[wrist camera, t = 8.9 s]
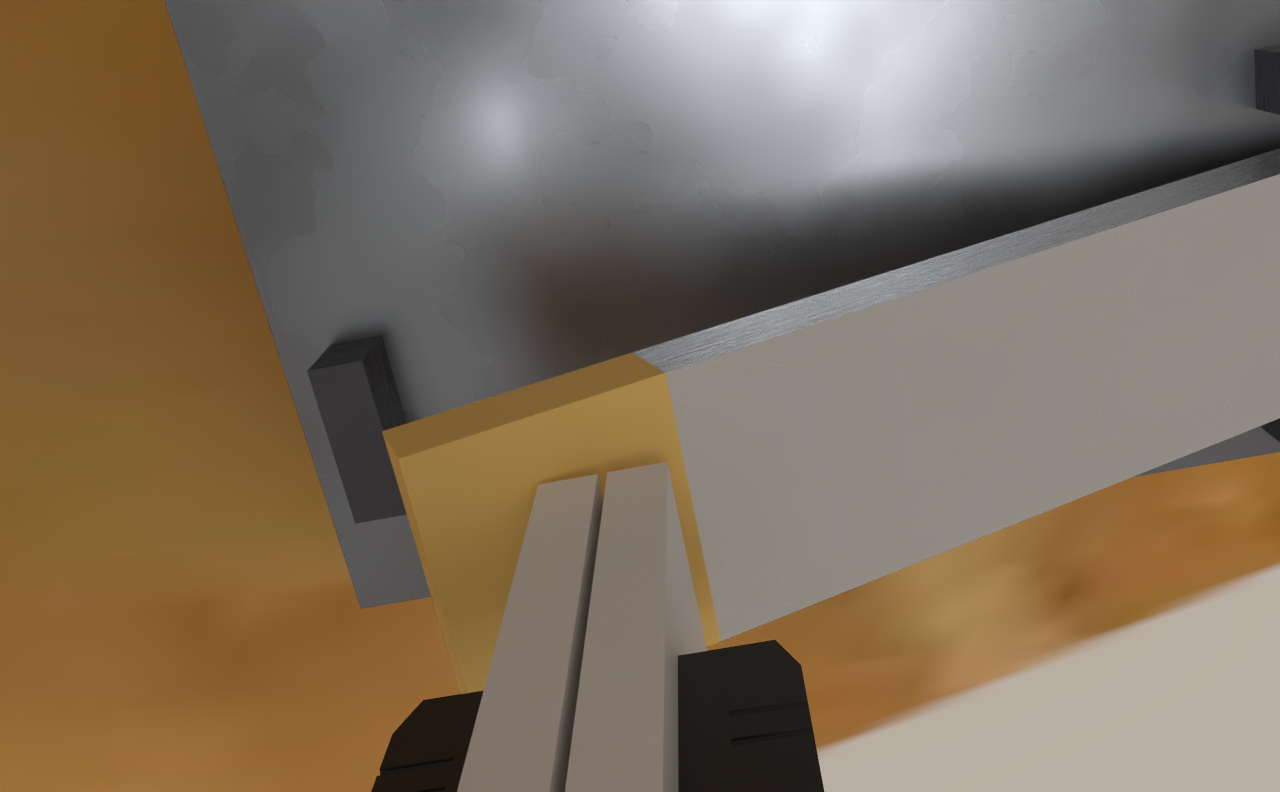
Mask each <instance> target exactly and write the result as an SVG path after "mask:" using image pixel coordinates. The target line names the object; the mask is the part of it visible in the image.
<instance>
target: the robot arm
mask: <svg viewBox="0 0 1280 792" xmlns="http://www.w3.org/2000/svg"><path fill="white" fill-rule="evenodd" d="M371 792H824V788H823V783H822V777H821V772H820V766H819V761H818V755H817V750H816V745H815V739H814V734H813V728H812V723H811V717H810V712H809V706H808V701H807V696H806V690H805V685H804V679H803V674H802V668H801V665H800V664H799V663H798V662H797V661H796V660H795V659H794V658H793V657H792V656H791V655H790V654H789V653H788V652H787V651H786V650H785V649H784V648H783V647H782V646H781V645H780V644H779V643H778V642H777V641H776V640H772V641H766V642H759V643H753V644H747V645H741V646H735V647H728V648H722V649H716V650H710V651H707V648H706V643H705V639H704V634H703V629H702V624H701V620H700V615H699V610H698V605H697V601H696V596H695V591H694V586H693V582H692V577H691V572H690V568H689V563H688V558H687V553H686V549H685V544H684V539H683V534H682V530H681V525H680V520H679V515H678V511H677V506H676V501H675V497H674V492H673V487H672V482H671V478H670V473H669V468H668V463H667V462H663V463H657V464H652V465H646V466H640V467H635V468H629V469H623V470H618V471H612V472H607V478H606V486H605V493H604V500H603V496H602V492H601V487H600V483H599V479H598V474H595V475H589V476H584V477H578V478H572V479H567V480H561V481H555V482H550V483H544V484H538V487H537V491H536V495H535V499H534V502H533V506H532V510H531V514H530V517H529V521H528V525H527V529H526V533H525V536H524V540H523V544H522V548H521V552H520V555H519V559H518V563H517V567H516V570H515V574H514V578H513V582H512V586H511V589H510V593H509V597H508V601H507V604H506V608H505V612H504V616H503V620H502V623H501V627H500V631H499V635H498V638H497V642H496V646H495V650H494V654H493V657H492V661H491V665H490V669H489V672H488V676H487V680H486V684H485V688H484V691H477V692H471V693H465V694H459V695H452V696H446V697H440V698H434V699H428V700H423V701H422V702H421V703H420V704H419V705H418V707H417V708H416V709H415V710H414V711H413V712H412V713H411V714H410V715H409V716H408V718H407V719H406V720H405V721H404V722H403V723H402V724H401V725H400V726H399V727H398V729H397V730H396V731H395V732H394V733H393V734H392V737H391V740H390V743H389V745H388V748H387V751H386V753H385V756H384V759H383V762H382V764H381V767H380V776H377V778H376V781H375V783H374V786H373V789H372V791H371Z"/></svg>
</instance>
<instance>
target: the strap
mask: <svg viewBox="0 0 1280 792" xmlns="http://www.w3.org/2000/svg"><path fill="white" fill-rule="evenodd" d="M1279 418H1280V148H1279V149H1276V150H1273V151H1270V152H1267V153H1263V154H1260V155H1257V156H1254V157H1251V158H1248V159H1244V160H1241V161H1238V162H1235V163H1232V164H1229V165H1225V166H1222V167H1219V168H1216V169H1213V170H1210V171H1206V172H1203V173H1200V174H1197V175H1194V176H1191V177H1187V178H1184V179H1181V180H1178V181H1175V182H1171V183H1168V184H1165V185H1162V186H1159V187H1156V188H1152V189H1149V190H1146V191H1143V192H1140V193H1137V194H1133V195H1130V196H1127V197H1124V198H1121V199H1118V200H1114V201H1111V202H1108V203H1105V204H1102V205H1099V206H1095V207H1092V208H1089V209H1086V210H1083V211H1079V212H1076V213H1073V214H1070V215H1067V216H1064V217H1060V218H1057V219H1054V220H1051V221H1048V222H1045V223H1041V224H1038V225H1035V226H1032V227H1029V228H1026V229H1022V230H1019V231H1016V232H1013V233H1010V234H1006V235H1003V236H1000V237H997V238H994V239H991V240H987V241H984V242H981V243H978V244H975V245H972V246H968V247H965V248H962V249H959V250H956V251H953V252H949V253H946V254H943V255H940V256H937V257H934V258H930V259H927V260H924V261H921V262H918V263H914V264H911V265H908V266H905V267H902V268H899V269H895V270H892V271H889V272H886V273H883V274H880V275H876V276H873V277H870V278H867V279H864V280H861V281H857V282H854V283H851V284H848V285H845V286H842V287H838V288H835V289H832V290H829V291H826V292H822V293H819V294H816V295H813V296H810V297H807V298H803V299H800V300H797V301H794V302H791V303H788V304H784V305H781V306H778V307H775V308H772V309H769V310H765V311H762V312H759V313H756V314H753V315H750V316H746V317H743V318H740V319H737V320H734V321H730V322H727V323H724V324H721V325H718V326H715V327H711V328H708V329H705V330H702V331H699V332H696V333H692V334H689V335H686V336H683V337H680V338H677V339H673V340H670V341H667V342H664V343H661V344H657V345H654V346H651V347H648V348H645V349H642V350H638V351H635V352H632V353H629V354H626V355H623V356H619V357H616V358H613V359H610V360H607V361H604V362H600V363H597V364H594V365H591V366H588V367H585V368H581V369H578V370H575V371H572V372H569V373H565V374H562V375H559V376H556V377H553V378H550V379H546V380H543V381H540V382H537V383H534V384H531V385H527V386H524V387H521V388H518V389H515V390H512V391H508V392H505V393H502V394H499V395H496V396H493V397H489V398H486V399H483V400H480V401H477V402H473V403H470V404H467V405H464V406H461V407H458V408H454V409H451V410H448V411H445V412H442V413H439V414H435V415H432V416H429V417H426V418H423V419H420V420H416V421H413V422H410V423H407V424H404V425H401V426H397V427H394V428H391V429H388V430H385V431H382V433H383V436H384V440H385V443H386V446H387V450H388V453H389V456H390V460H391V463H392V466H393V470H394V473H395V476H396V480H397V483H398V487H399V490H400V493H401V497H402V500H403V503H404V507H405V510H406V513H407V517H408V520H409V523H410V527H411V530H412V533H413V537H414V540H415V543H416V547H417V550H418V554H419V557H420V560H421V564H422V567H423V570H424V574H425V577H426V580H427V584H428V587H429V590H430V594H431V597H432V600H433V604H434V607H435V610H436V614H437V617H438V620H439V624H440V627H441V631H442V634H443V637H444V641H445V644H446V647H447V651H448V654H449V657H450V661H451V664H452V667H453V671H454V674H455V677H456V681H457V684H458V687H459V691H460V694H465V693H471V692H477V691H484V688H485V684H486V680H487V676H488V672H489V669H490V665H491V661H492V657H493V654H494V650H495V646H496V642H497V638H498V635H499V631H500V627H501V623H502V620H503V616H504V612H505V608H506V604H507V601H508V597H509V593H510V589H511V586H512V582H513V578H514V574H515V570H516V567H517V563H518V559H519V555H520V552H521V548H522V544H523V540H524V536H525V533H526V529H527V525H528V521H529V517H530V514H531V510H532V506H533V502H534V499H535V495H536V491H537V487H538V484H544V483H550V482H555V481H561V480H567V479H572V478H578V477H584V476H589V475H595V474H598V479H599V483H600V487H601V492H602V496H603V500H604V493H605V486H606V478H607V472H612V471H618V470H623V469H629V468H635V467H640V466H646V465H652V464H657V463H663V462H667V463H668V468H669V473H670V478H671V482H672V487H673V492H674V497H675V501H676V506H677V511H678V515H679V520H680V525H681V530H682V534H683V539H684V544H685V549H686V553H687V558H688V563H689V568H690V572H691V577H692V582H693V586H694V591H695V596H696V601H697V605H698V610H699V615H700V620H701V624H702V629H703V634H704V639H705V643H706V647H708V646H710V645H713V644H715V643H718V642H720V641H723V640H725V639H728V638H730V637H733V636H735V635H738V634H740V633H743V632H745V631H748V630H750V629H753V628H755V627H758V626H760V625H763V624H765V623H768V622H770V621H773V620H775V619H778V618H780V617H783V616H785V615H788V614H790V613H793V612H795V611H798V610H800V609H803V608H805V607H808V606H810V605H813V604H815V603H818V602H821V601H823V600H826V599H828V598H831V597H833V596H836V595H838V594H841V593H843V592H846V591H848V590H851V589H853V588H856V587H858V586H861V585H863V584H866V583H868V582H871V581H873V580H876V579H878V578H881V577H883V576H886V575H888V574H891V573H893V572H896V571H898V570H901V569H903V568H906V567H908V566H911V565H913V564H916V563H918V562H921V561H923V560H926V559H928V558H931V557H933V556H936V555H938V554H941V553H943V552H946V551H948V550H951V549H953V548H956V547H958V546H961V545H963V544H966V543H968V542H971V541H973V540H976V539H978V538H981V537H983V536H986V535H988V534H991V533H993V532H996V531H998V530H1001V529H1003V528H1006V527H1008V526H1011V525H1013V524H1016V523H1018V522H1021V521H1024V520H1026V519H1029V518H1031V517H1034V516H1036V515H1039V514H1041V513H1044V512H1046V511H1049V510H1051V509H1054V508H1056V507H1059V506H1061V505H1064V504H1066V503H1069V502H1071V501H1074V500H1076V499H1079V498H1081V497H1084V496H1086V495H1089V494H1091V493H1094V492H1096V491H1099V490H1101V489H1104V488H1106V487H1109V486H1111V485H1114V484H1116V483H1119V482H1121V481H1124V480H1126V479H1129V478H1131V477H1134V476H1136V475H1139V474H1141V473H1144V472H1146V471H1149V470H1151V469H1154V468H1156V467H1159V466H1161V465H1164V464H1166V463H1169V462H1171V461H1174V460H1176V459H1179V458H1181V457H1184V456H1186V455H1189V454H1191V453H1194V452H1196V451H1199V450H1201V449H1204V448H1206V447H1209V446H1211V445H1214V444H1216V443H1219V442H1221V441H1224V440H1227V439H1229V438H1232V437H1234V436H1237V435H1239V434H1242V433H1244V432H1247V431H1249V430H1252V429H1254V428H1257V427H1259V426H1262V425H1264V424H1267V423H1269V422H1272V421H1274V420H1277V419H1279Z"/></svg>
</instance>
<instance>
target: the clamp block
mask: <svg viewBox="0 0 1280 792" xmlns="http://www.w3.org/2000/svg"><path fill="white" fill-rule="evenodd" d="M165 3H166V6H167V10H168V13H169V16H170V19H171V22H172V25H173V28H174V31H175V34H176V37H177V41H178V44H179V47H180V50H181V53H182V56H183V59H184V62H185V65H186V68H187V71H188V75H189V78H190V81H191V84H192V87H193V90H194V93H195V96H196V99H197V102H198V106H199V109H200V112H201V115H202V118H203V121H204V124H205V127H206V130H207V133H208V137H209V140H210V143H211V146H212V149H213V152H214V155H215V158H216V161H217V164H218V168H219V171H220V174H221V177H222V180H223V183H224V186H225V189H226V192H227V195H228V198H229V202H230V205H231V208H232V211H233V214H234V217H235V220H236V223H237V226H238V229H239V233H240V236H241V239H242V242H243V245H244V248H245V251H246V254H247V257H248V260H249V264H250V267H251V270H252V273H253V276H254V279H255V282H256V285H257V288H258V291H259V295H260V298H261V301H262V304H263V307H264V310H265V313H266V316H267V319H268V322H269V325H270V329H271V332H272V335H273V338H274V341H275V344H276V347H277V350H278V353H279V356H280V360H281V363H282V366H283V369H284V372H285V375H286V378H287V381H288V384H289V387H290V391H291V394H292V397H293V400H294V403H295V406H296V409H297V412H298V415H299V418H300V421H301V425H302V428H303V431H304V434H305V437H306V440H307V443H308V446H309V449H310V452H311V456H312V459H313V462H314V465H315V468H316V471H317V474H318V477H319V480H320V483H321V487H322V490H323V493H324V496H325V499H326V502H327V505H328V508H329V511H330V514H331V518H332V521H333V524H334V527H335V530H336V533H337V536H338V539H339V542H340V545H341V548H342V552H343V555H344V558H345V561H346V564H347V567H348V570H349V573H350V576H351V579H352V583H353V586H354V589H355V592H356V595H357V598H358V601H359V604H360V607H361V609H362V608H367V607H373V606H379V605H385V604H391V603H397V602H403V601H408V600H414V599H420V598H426V597H431V594H430V590H429V587H428V584H427V580H426V577H425V574H424V570H423V567H422V564H421V560H420V557H419V554H418V550H417V547H416V543H415V540H414V537H413V533H412V530H411V527H410V523H409V520H408V517H407V513H406V510H405V507H404V503H403V500H402V497H401V493H400V490H399V487H398V483H397V480H396V476H395V473H394V470H393V466H392V463H391V460H390V456H389V453H388V450H387V446H386V443H385V440H384V436H383V433H382V431H385V430H388V429H391V428H394V427H397V426H401V425H404V424H407V423H410V422H413V421H416V420H420V419H423V418H426V417H429V416H432V415H435V414H439V413H442V412H445V411H448V410H451V409H454V408H458V407H461V406H464V405H467V404H470V403H473V402H477V401H480V400H483V399H486V398H489V397H493V396H496V395H499V394H502V393H505V392H508V391H512V390H515V389H518V388H521V387H524V386H527V385H531V384H534V383H537V382H540V381H543V380H546V379H550V378H553V377H556V376H559V375H562V374H565V373H569V372H572V371H575V370H578V369H581V368H585V367H588V366H591V365H594V364H597V363H600V362H604V361H607V360H610V359H613V358H616V357H619V356H623V355H626V354H629V353H632V352H635V351H638V350H642V349H645V348H648V347H651V346H654V345H657V344H661V343H664V342H667V341H670V340H673V339H677V338H680V337H683V336H686V335H689V334H692V333H696V332H699V331H702V330H705V329H708V328H711V327H715V326H718V325H721V324H724V323H727V322H730V321H734V320H737V319H740V318H743V317H746V316H750V315H753V314H756V313H759V312H762V311H765V310H769V309H772V308H775V307H778V306H781V305H784V304H788V303H791V302H794V301H797V300H800V299H803V298H807V297H810V296H813V295H816V294H819V293H822V292H826V291H829V290H832V289H835V288H838V287H842V286H845V285H848V284H851V283H854V282H857V281H861V280H864V279H867V278H870V277H873V276H876V275H880V274H883V273H886V272H889V271H892V270H895V269H899V268H902V267H905V266H908V265H911V264H914V263H918V262H921V261H924V260H927V259H930V258H934V257H937V256H940V255H943V254H946V253H949V252H953V251H956V250H959V249H962V248H965V247H968V246H972V245H975V244H978V243H981V242H984V241H987V240H991V239H994V238H997V237H1000V236H1003V235H1006V234H1010V233H1013V232H1016V231H1019V230H1022V229H1026V228H1029V227H1032V226H1035V225H1038V224H1041V223H1045V222H1048V221H1051V220H1054V219H1057V218H1060V217H1064V216H1067V215H1070V214H1073V213H1076V212H1079V211H1083V210H1086V209H1089V208H1092V207H1095V206H1099V205H1102V204H1105V203H1108V202H1111V201H1114V200H1118V199H1121V198H1124V197H1127V196H1130V195H1133V194H1137V193H1140V192H1143V191H1146V190H1149V189H1152V188H1156V187H1159V186H1162V185H1165V184H1168V183H1171V182H1175V181H1178V180H1181V179H1184V178H1187V177H1191V176H1194V175H1197V174H1200V173H1203V172H1206V171H1210V170H1213V169H1216V168H1219V167H1222V166H1225V165H1229V164H1232V163H1235V162H1238V161H1241V160H1244V159H1248V158H1251V157H1254V156H1257V155H1260V154H1263V153H1267V152H1270V151H1273V150H1276V149H1279V148H1280V0H165ZM1275 452H1280V418H1279V419H1277V420H1274V421H1272V422H1269V423H1267V424H1264V425H1262V426H1259V427H1257V428H1254V429H1252V430H1249V431H1247V432H1244V433H1242V434H1239V435H1237V436H1234V437H1232V438H1229V439H1227V440H1224V441H1221V442H1219V443H1216V444H1214V445H1211V446H1209V447H1206V448H1204V449H1201V450H1199V451H1196V452H1194V453H1191V454H1189V455H1186V456H1184V457H1181V458H1179V459H1176V460H1174V461H1171V462H1169V463H1166V464H1164V465H1161V466H1159V467H1156V468H1154V469H1151V470H1149V471H1146V472H1144V473H1141V474H1139V475H1136V476H1141V475H1147V474H1152V473H1158V472H1164V471H1170V470H1176V469H1182V468H1188V467H1193V466H1199V465H1205V464H1211V463H1217V462H1223V461H1229V460H1234V459H1240V458H1246V457H1252V456H1258V455H1264V454H1270V453H1275ZM1134 477H1135V476H1134Z"/></svg>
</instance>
